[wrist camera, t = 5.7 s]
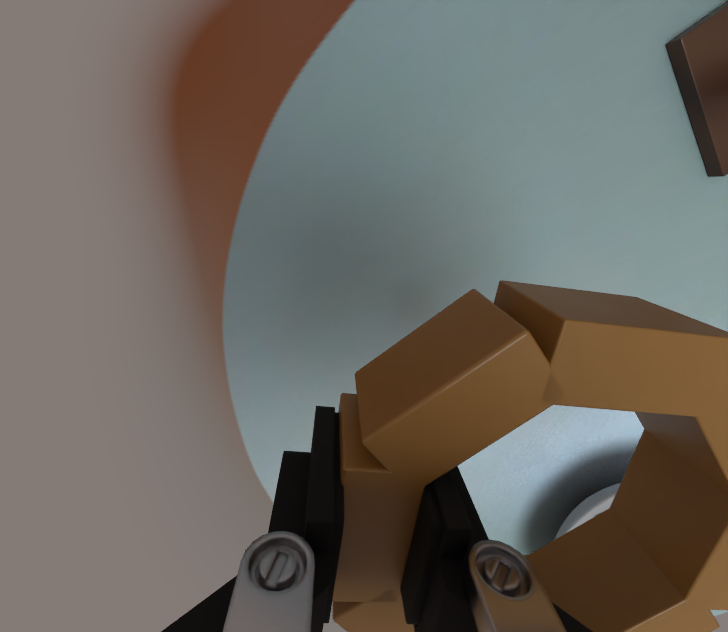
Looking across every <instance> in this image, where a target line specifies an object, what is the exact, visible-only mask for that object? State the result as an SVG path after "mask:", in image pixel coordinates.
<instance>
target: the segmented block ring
mask: <svg viewBox="0 0 728 632" xmlns="http://www.w3.org/2000/svg"><path fill="white" fill-rule="evenodd" d="M355 380H356V390H357V394H348V393H342V394H341V397H340V405H339V412H338V413H339V423H340V479H341V485H343V486H344V528H343V536H342V542H341V549H340V555H339V561H338V568H337V574H336V580H335V587H334V593H333V599H332V601H333V620H334V622H336V623H337V624H339V625H340V626H341V627H342V628H343V629H345V630H346V631H347V632H415V631H414V625H413V624H407V623H406V620H405V614H404V608H403V602H402V595H401V589H400V588H401V584H402V579H403V575H404V571H405V567H406V563H407V558H408V554H409V550H410V546H411V541H412V537H413V533H414V529H415V525H416V520H417V516H418V512H419V508H420V503H421V499H422V495H423V491H424V488H425V486H426V485H428V484H429V483H431V482H433V481H434V480H436V479H437V478H439V477H440V476H442V475H443V474H445V473H447V472H448V471H450V470H451V469H453V468H454V467H456V466H458V465H459V464H461V463H462V462H464V461H465V460H467V459H469V458H470V457H472V456H473V455H475V454H476V453H478V452H480V451H481V450H483V449H484V448H486V447H487V446H489V445H491V444H492V443H494V442H495V441H497V440H498V439H500V438H502V437H503V436H505V435H506V434H508V433H509V432H511V431H513V430H514V429H516V428H517V427H519V426H520V425H522V424H524V423H525V422H527V421H528V420H530V419H531V418H533V417H535V416H536V415H538V414H539V413H541V412H542V411H544V410H546V409H547V408H549V407H550V406H552V405H564V406H576V407H587V408H599V409H610V410H622V411H634V412H635V413H636V415H637V417H638V418H639V420H640V422H641V424H642V425H643V427H644V431H643V434H642V436H641V438H640V440H639V443H638V445H637V447H636V449H635V452H634V454H633V456H632V458H631V461H630V463H629V465H628V467H627V470H626V472H625V474H624V476H623V479H622V481H621V483H620V486H619V488H618V490H617V492H616V495H615V497H614V499H613V501H612V504H611V506H610V508H609V509H607V510H605V511H604V512H602V513H600V514H598V515H597V516H595V517H593V518H591V519H590V520H588V521H586V522H585V523H583V524H581V525H579V526H578V527H576V528H574V529H572V530H571V531H569V532H567V533H565V534H564V535H562V536H560V537H559V538H557V539H555V540H553V541H552V542H550V543H548V544H546V545H545V546H543V547H541V548H539V549H538V550H536V551H534V552H533V553H531V554H529V555H523V556H524V557H525V558H526V559H527V560H528V561H529V563H530V564H531V566H532V567H533V569H534V570H535V572H536V574H537V576H538V577H539V579H540V581H541V583H542V585H543V587H544V589H545V591H546V593H547V595H548V597H549V599H550V600H551V602H553V603H554V604H555V605H557V606H558V607H560V608H561V609H562V610H564V611H565V612H566V613H568V614H569V615H571V616H572V617H573V618H575V619H576V620H578V621H579V622H580V623H582V624H583V625H584V626H586V627H587V628H589V629H590V630H591V631H593V632H711V631H713V630H715V629H717V628H719V624H718V622H717V621H716V619H715V618H714V616H713V614H712V613H711V611H710V610H728V332H726V331H724V330H721V329H719V328H716V327H713V326H711V325H708V324H706V323H703V322H700V321H698V320H695V319H692V318H690V317H687V316H685V315H682V314H679V313H677V312H674V311H672V310H669V309H666V308H664V307H661V306H658V305H656V304H653V303H651V302H648V301H645V300H643V299H640V298H638V297H632V296H624V295H615V294H607V293H599V292H591V291H583V290H575V289H567V288H559V287H551V286H543V285H534V284H526V283H518V282H510V281H500V282H499V285H498V289H497V293H496V297H495V301H494V304H493V303H492V302H491V301H490V300H488V299H487V298H486V297H484V296H483V295H482V294H480V293H479V292H478V291H477V290H475V289H472V290H470V291H469V292H467V293H466V294H465V295H463V296H462V297H460V298H459V299H458V300H456V301H455V302H453V303H452V304H451V305H449V306H448V307H446V308H445V309H444V310H442V311H441V312H439V313H438V314H437V315H435V316H434V317H432V318H431V319H430V320H428V321H427V322H425V323H424V324H423V325H421V326H420V327H418V328H417V329H416V330H414V331H413V332H411V333H410V334H409V335H407V336H406V337H404V338H403V339H402V340H400V341H399V342H397V343H396V344H395V345H393V346H392V347H390V348H389V349H388V350H386V351H385V352H383V353H382V354H381V355H379V356H378V357H376V358H375V359H374V360H372V361H371V362H369V363H368V364H367V365H365V366H364V367H362V368H361V369H360V370H358V371H357V372H356V373H355Z"/></svg>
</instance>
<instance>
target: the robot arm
mask: <svg viewBox="0 0 728 632" xmlns="http://www.w3.org/2000/svg"><path fill="white" fill-rule="evenodd" d="M343 528H344V486H343V485H341V479H340V423H339V413H336V412H335V407H324V406H316V412H315V421H314V430H313V438H312V447H311V453H309V452H294V451H284V453H283V458H282V463H281V468H280V473H279V479H278V484H277V489H276V494H275V500H274V505H273V511H272V515H271V521H270V526H269V531H268V534H265V535H262V536H261V537H259V538H258V539H256V540H255V541H253V542H252V543H251V545H250V546H249V547H248V548H247V549H246V550H245V553H244V555H243V557H242V560H241V563H240V567H239V571H238V575H237V576H236V577H234V578H233V579H232V580H230V581H229V582H228V583H226V584H225V585H223V586H222V587H221V588H219V589H218V590H217V591H215V592H214V593H213V594H211V595H210V596H209V597H207V598H206V599H205V600H203V601H202V602H201V603H199V604H198V605H197V606H195V607H194V608H193V609H192V610H190V611H189V612H187V613H186V614H185V615H183V616H182V617H180V618H179V619H178V620H177V621H175V622H174V623H172V624H171V625H170V626H168V627H167V628H166V629H164V630H163V631H162V632H322V629H323V623H329V618H330V612H331V605H332V599H333V593H334V587H335V580H336V574H337V568H338V561H339V555H340V549H341V542H342V536H343ZM400 589H401V595H402V602H403V608H404V614H405V620H406V623H407V624H413V625H414V631H415V632H593V631H591V630H590V629H589V628H587V627H586V626H584V625H583V624H582V623H580V622H579V621H578V620H576V619H575V618H573V617H572V616H571V615H569V614H568V613H566V612H565V611H564V610H562V609H561V608H560V607H558V606H557V605H555V604H554V603H553V602H551V600H550V599H549V597H548V595H547V593H546V591H545V589H544V587H543V585H542V583H541V581H540V579H539V577H538V576H537V574H536V572H535V570H534V569H533V567H532V566H531V564H530V563H529V561H528V560H527V559H526V558H525V557H524V556H523V555H522V554H521V553H520V552H518V551H517V550H515V549H514V548H513V547H511V546H509V545H507V544H505V543H502V542H500V541H494V540H489V539H488V537H487V534H486V532H485V530H484V527H483V525H482V523H481V520H480V518H479V516H478V513H477V511H476V509H475V506H474V504H473V502H472V499H471V497H470V495H469V492H468V490H467V488H466V485H465V483H464V481H463V478H462V476H461V474H460V471H459V469H458V467H457V466H456V467H454V468H453V469H451V470H450V471H448V472H447V473H445V474H443V475H442V476H440V477H439V478H437V479H436V480H434V481H433V482H431V483H429V484H428V485H426V486H425V488H424V491H423V495H422V499H421V503H420V508H419V512H418V516H417V520H416V525H415V529H414V533H413V537H412V541H411V546H410V550H409V554H408V558H407V563H406V567H405V571H404V575H403V579H402V584H401V588H400Z"/></svg>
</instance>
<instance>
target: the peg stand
mask: <svg viewBox="0 0 728 632" xmlns="http://www.w3.org/2000/svg"><path fill="white" fill-rule="evenodd" d="M666 47H667V50H668V53H669V56H670V59H671V62H672V65H673V68H674V71H675V75H676V78H677V81H678V84H679V87H680V90H681V93H682V96H683V99H684V102H685V105H686V108H687V111H688V114H689V117H690V121H691V124H692V127H693V130H694V133H695V136H696V139H697V142H698V145H699V148H700V151H701V154H702V157H703V160H704V163H705V167H706V170H707V173H708V176H709V177H711V176H725V175H727V174H728V1H727V2H725V3H724V4H723V5H721V6H720V7H718V8H717V9H716V10H714V11H713V12H711V13H710V14H708V15H707V16H706V17H704V18H703V19H701V20H700V21H698V22H697V23H696V24H694V25H693V26H691V27H690V28H689V29H687V30H686V31H684V32H683V33H681V34H680V35H679V36H677V37H676V38H674V39H673V40H672V41H670V42H669V43H667V44H666Z"/></svg>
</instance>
